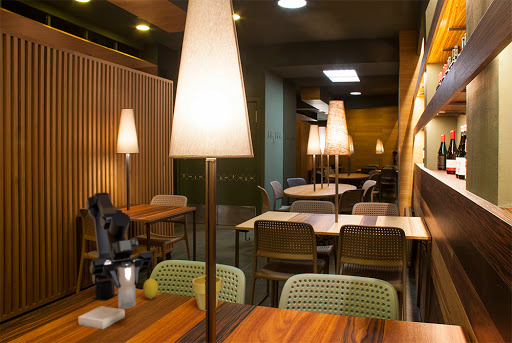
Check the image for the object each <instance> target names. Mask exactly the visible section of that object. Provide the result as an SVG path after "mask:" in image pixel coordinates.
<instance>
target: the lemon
mask: <svg viewBox="0 0 512 343" xmlns="http://www.w3.org/2000/svg"><path fill="white" fill-rule="evenodd" d="M142 292H143V296H145V297H146V298H147V299H149V300H152V299H153V298H155V297H156V296H157V295H158V293H159V284H158V282H157V281H156V279H154V278H152V277H150V278H148V279H147V280H145V281H144V282H143V287H142Z"/></svg>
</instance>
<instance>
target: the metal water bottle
mask: <svg viewBox="0 0 512 343" xmlns="http://www.w3.org/2000/svg"><path fill="white" fill-rule="evenodd" d="M117 276H118V282H119V288H118V289H117V294H118V295H117V304H118V307H117V308H118V309H124V310H126V309H132V308H134V307H135V306H136V304H137V301H136V298H137V297H136V285H135V265H133V264H131V263H130V262H123V263H121V265H120V266H118V267H117Z"/></svg>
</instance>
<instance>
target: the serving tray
mask: <svg viewBox="0 0 512 343" xmlns="http://www.w3.org/2000/svg"><path fill="white" fill-rule="evenodd" d="M125 311H126V309H121V308H118V307H117V308H116V307H111V306H103V305H101V306H98V307H96V308H94V309H92V310H90V311H88V312H85V313H84V314H81V315H79V316H78V317H77V318H78V319H77V320H78V321H77V322H78V325H79V326H84V327H90V328H93V329H99V330H104V329H106V328H107V327H110V326H111V325H113V324H115V323H117V322H118V321H121V320H122V319H124V318H125V316H126V314H125V313H126V312H125Z"/></svg>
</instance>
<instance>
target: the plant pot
mask: <svg viewBox="0 0 512 343" xmlns="http://www.w3.org/2000/svg"><path fill="white" fill-rule="evenodd" d="M205 276H206V275H204V276H198V277H195V278H193V279H192V281H191V288H192V292H193V293H194V296H195V300H196V303H197V307H198V309H199V310H201V311H206V310H205ZM215 276H216V275H215ZM222 284H223V283H222V278H221V277H219V276H218V275H217V276H216V308H218V303H219V297H220V293H221V292H220V291H221V290H222V288H223V287H222V286H223V285H222ZM216 308H215V309H216Z"/></svg>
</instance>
